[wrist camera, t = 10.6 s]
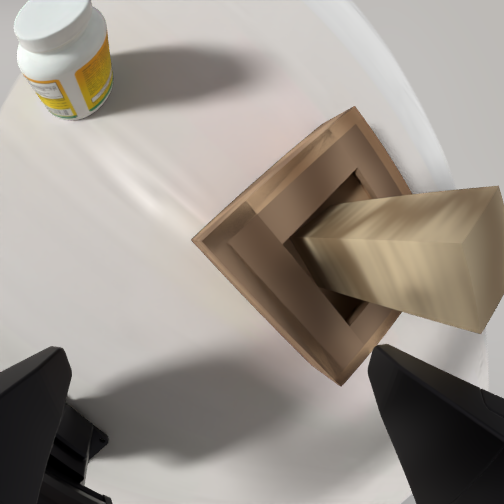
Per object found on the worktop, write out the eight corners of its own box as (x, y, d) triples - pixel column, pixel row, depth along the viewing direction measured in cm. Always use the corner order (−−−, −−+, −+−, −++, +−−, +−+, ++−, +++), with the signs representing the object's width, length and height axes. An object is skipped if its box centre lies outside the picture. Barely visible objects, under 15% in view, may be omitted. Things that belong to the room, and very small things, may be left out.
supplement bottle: (52, 134, 16) (-2, 71, 7) (43, 76, 16) (3, 2, 6) (121, 105, 18) (109, 23, 9) (107, 50, 17) (98, -37, 8)
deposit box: (311, 364, 24) (341, 386, 19) (190, 239, 20) (201, 241, 16) (405, 248, 26) (441, 251, 22) (322, 123, 23) (354, 105, 19)
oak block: (317, 286, 23) (480, 334, 10) (288, 237, 22) (461, 243, 8) (357, 252, 24) (516, 268, 11) (332, 204, 23) (498, 185, 10)
